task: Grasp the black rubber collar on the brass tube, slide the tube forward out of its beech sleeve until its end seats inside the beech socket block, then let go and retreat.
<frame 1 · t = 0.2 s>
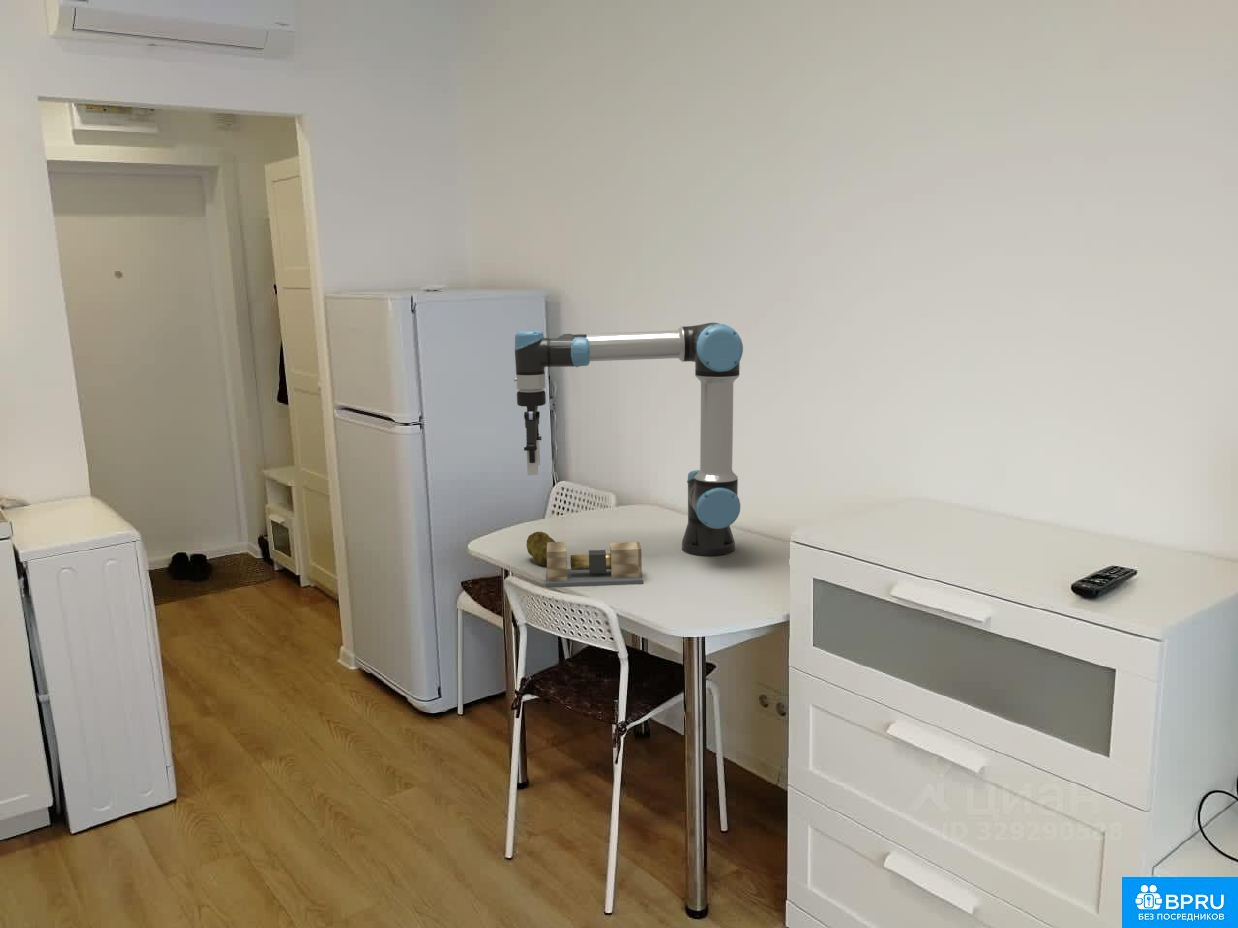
hand: (534, 469, 260), 27 cm above the table, fingers open, 13 cm apart
potato: (544, 563, 271), on the table
board: (594, 578, 256), on the table
socket: (557, 579, 255), resting on board
sleeve: (624, 577, 256), resting on board
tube: (603, 561, 255), point 5 cm above the table, slide at 0.0 cm
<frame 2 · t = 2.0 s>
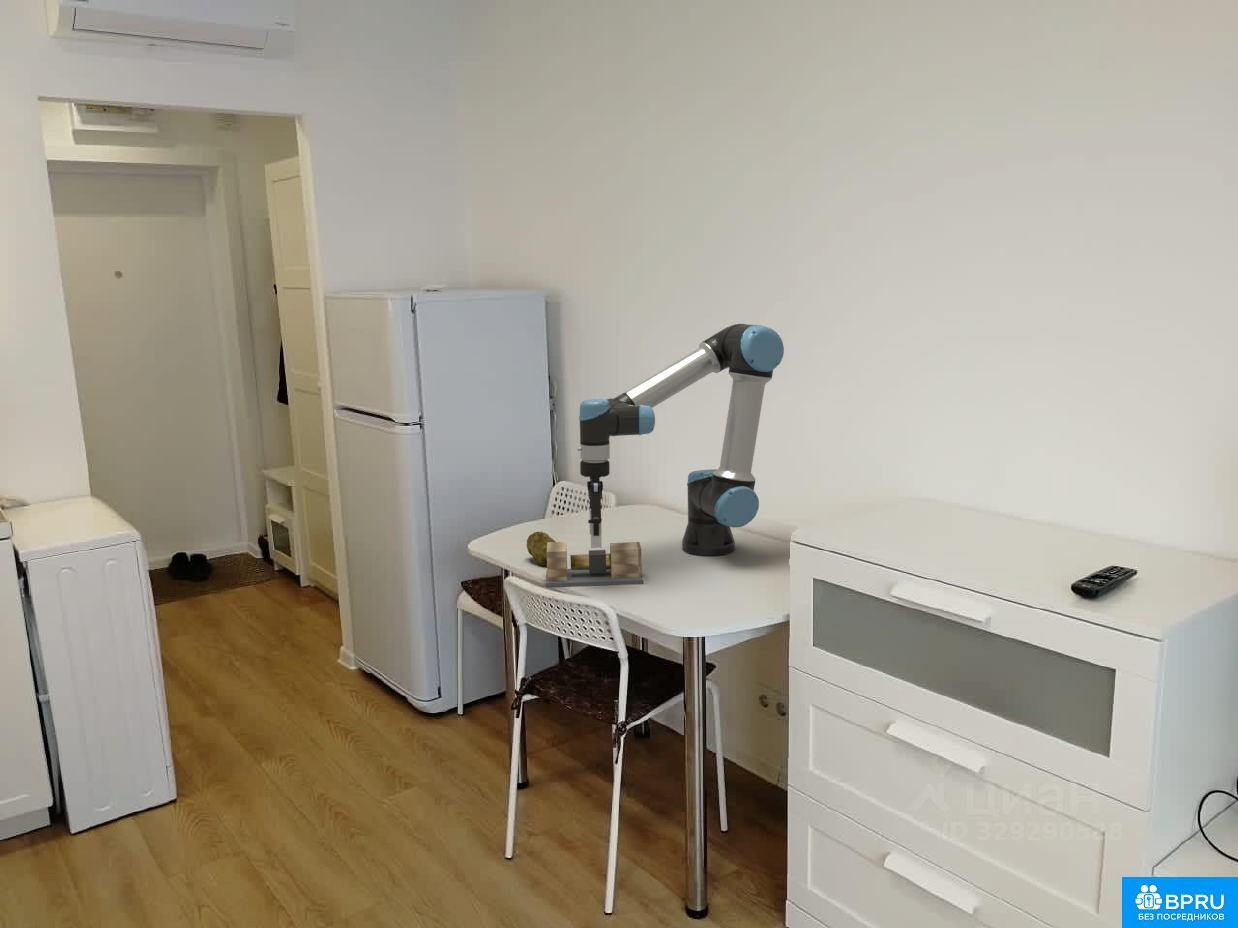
hand: (595, 540, 254), 10 cm above the table, fingers open, 13 cm apart
nothing on the table moved.
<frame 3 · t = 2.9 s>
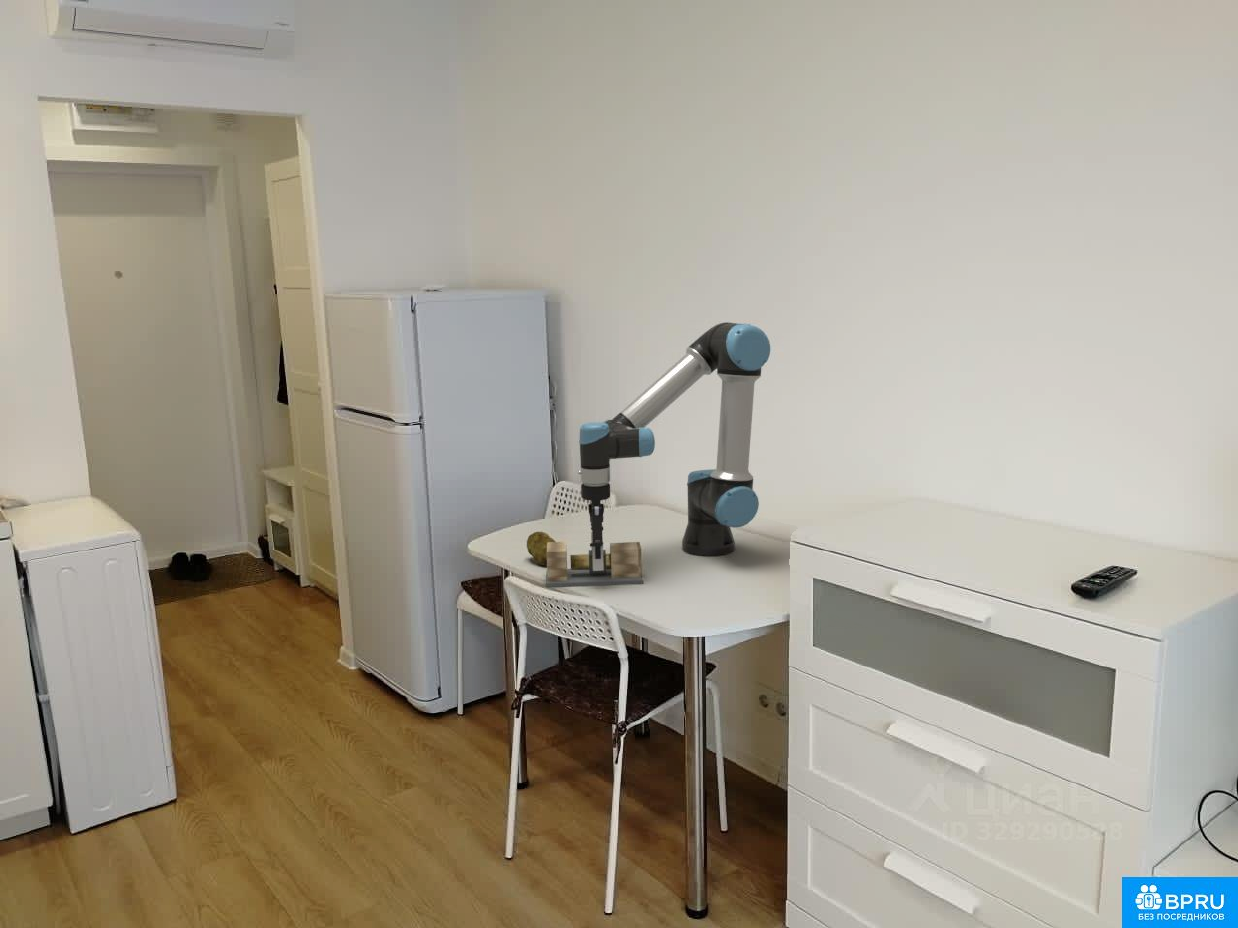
hand: (597, 562, 255), 4 cm above the table, fingers open, 13 cm apart
nothing on the table moved.
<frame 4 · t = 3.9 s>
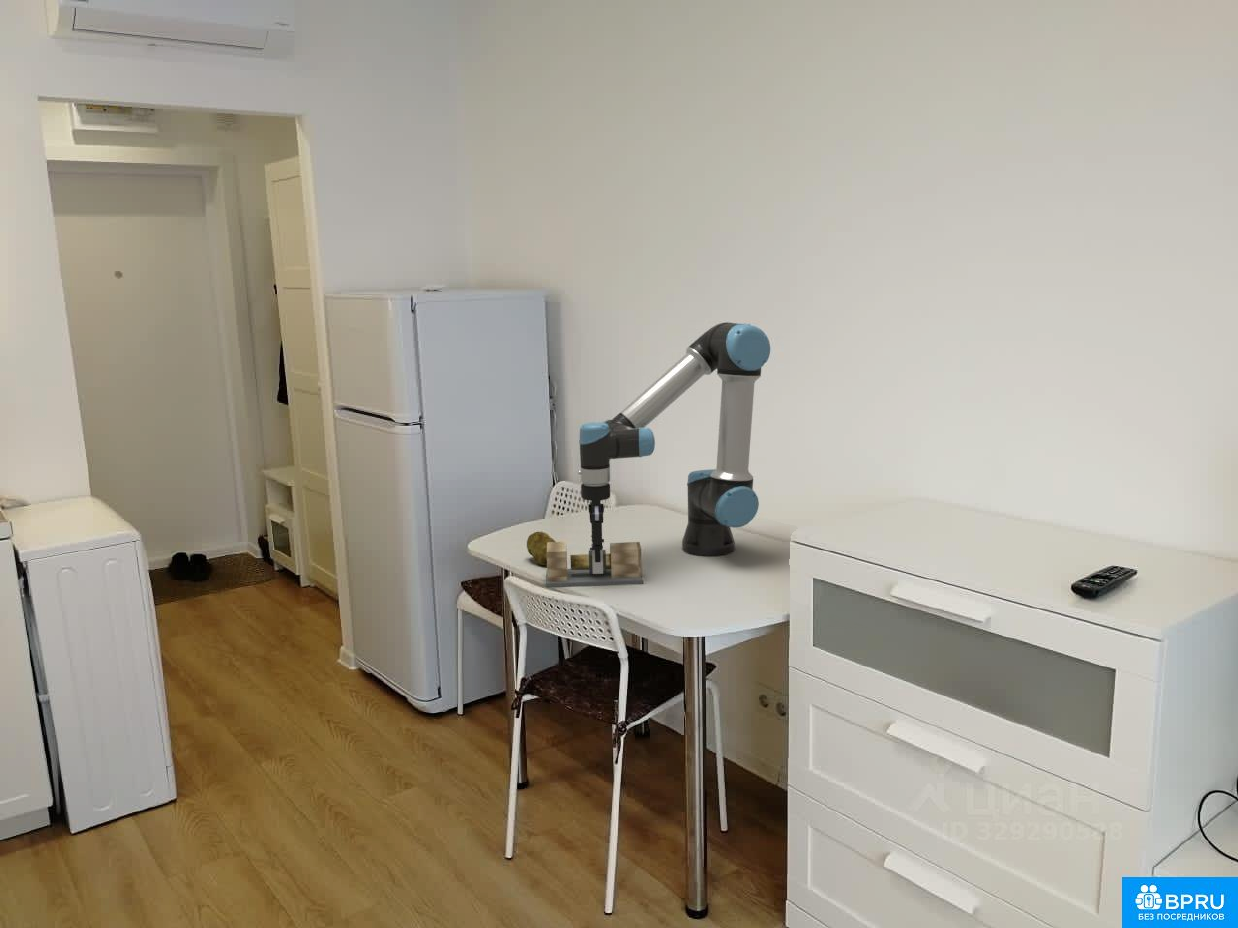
hand: (597, 570, 255), 2 cm above the table, fingers closed on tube, 4 cm apart
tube: (603, 561, 255), point 5 cm above the table, slide at 0.0 cm, touching gripper
everything else where it was.
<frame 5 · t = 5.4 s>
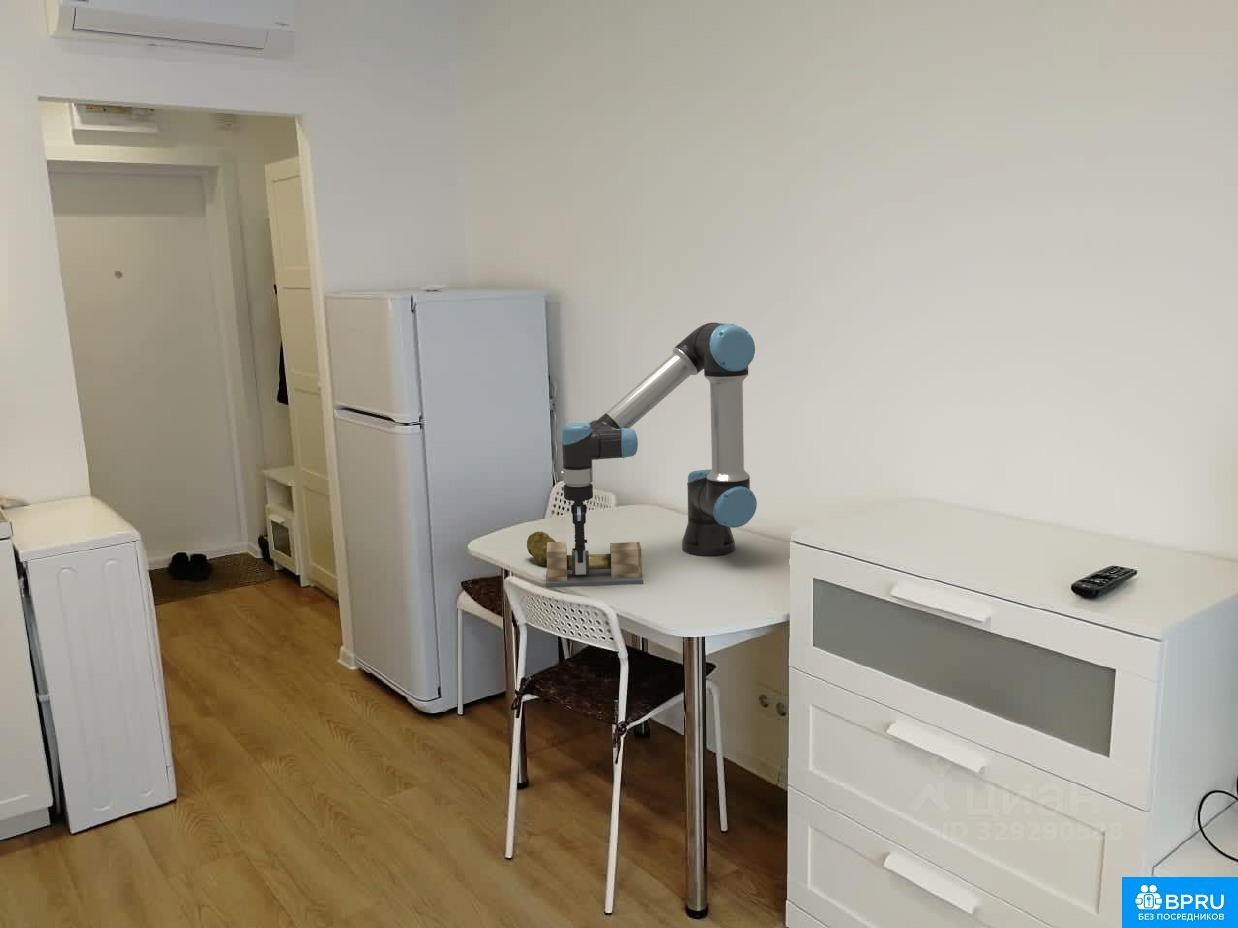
hand: (580, 570, 255), 2 cm above the table, fingers closed on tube, 4 cm apart
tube: (586, 562, 255), point 5 cm above the table, slide at 4.5 cm, touching gripper
everything else where it was.
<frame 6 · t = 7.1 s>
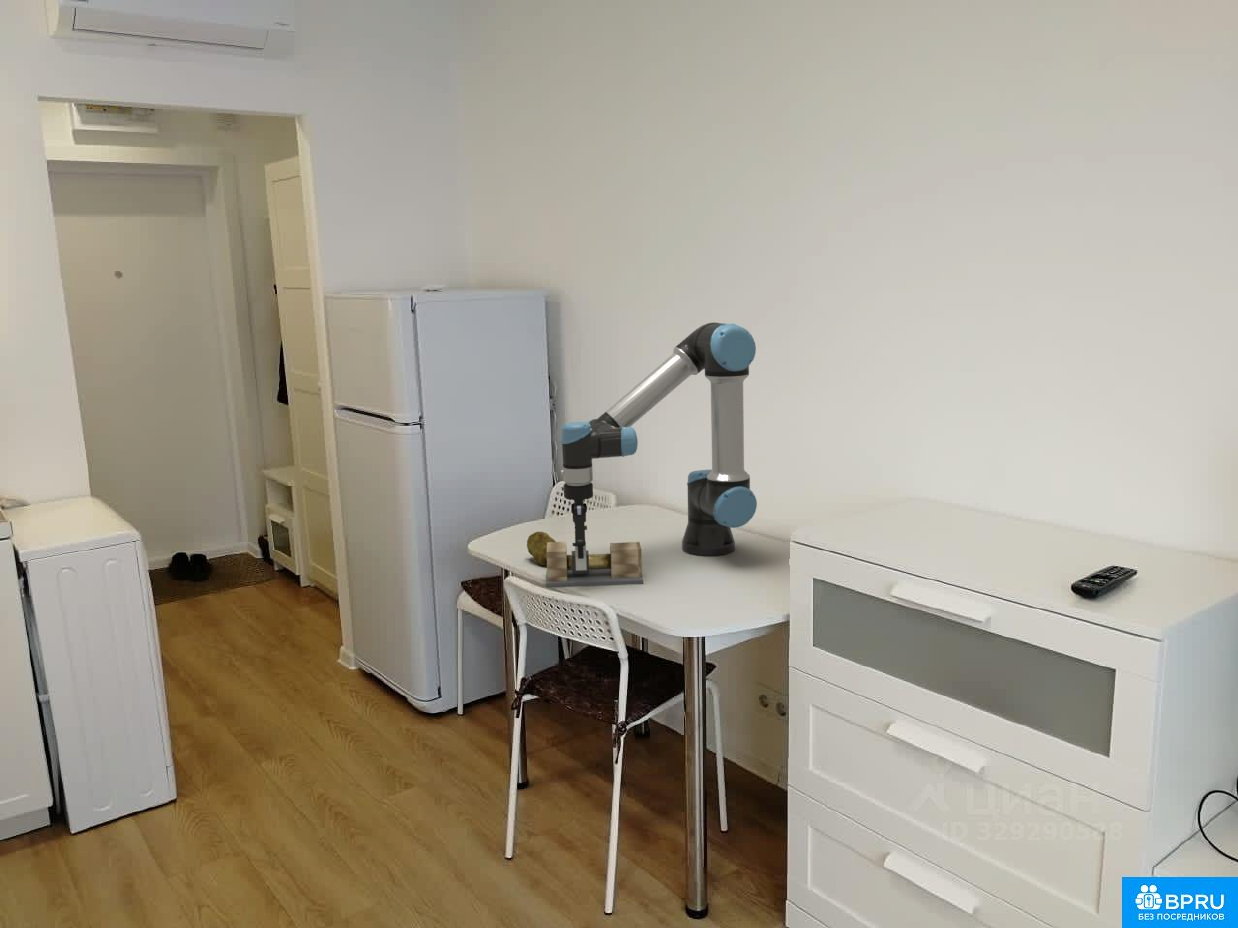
hand: (580, 562, 255), 4 cm above the table, fingers open, 13 cm apart
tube: (586, 562, 255), point 5 cm above the table, slide at 4.5 cm
everything else where it was.
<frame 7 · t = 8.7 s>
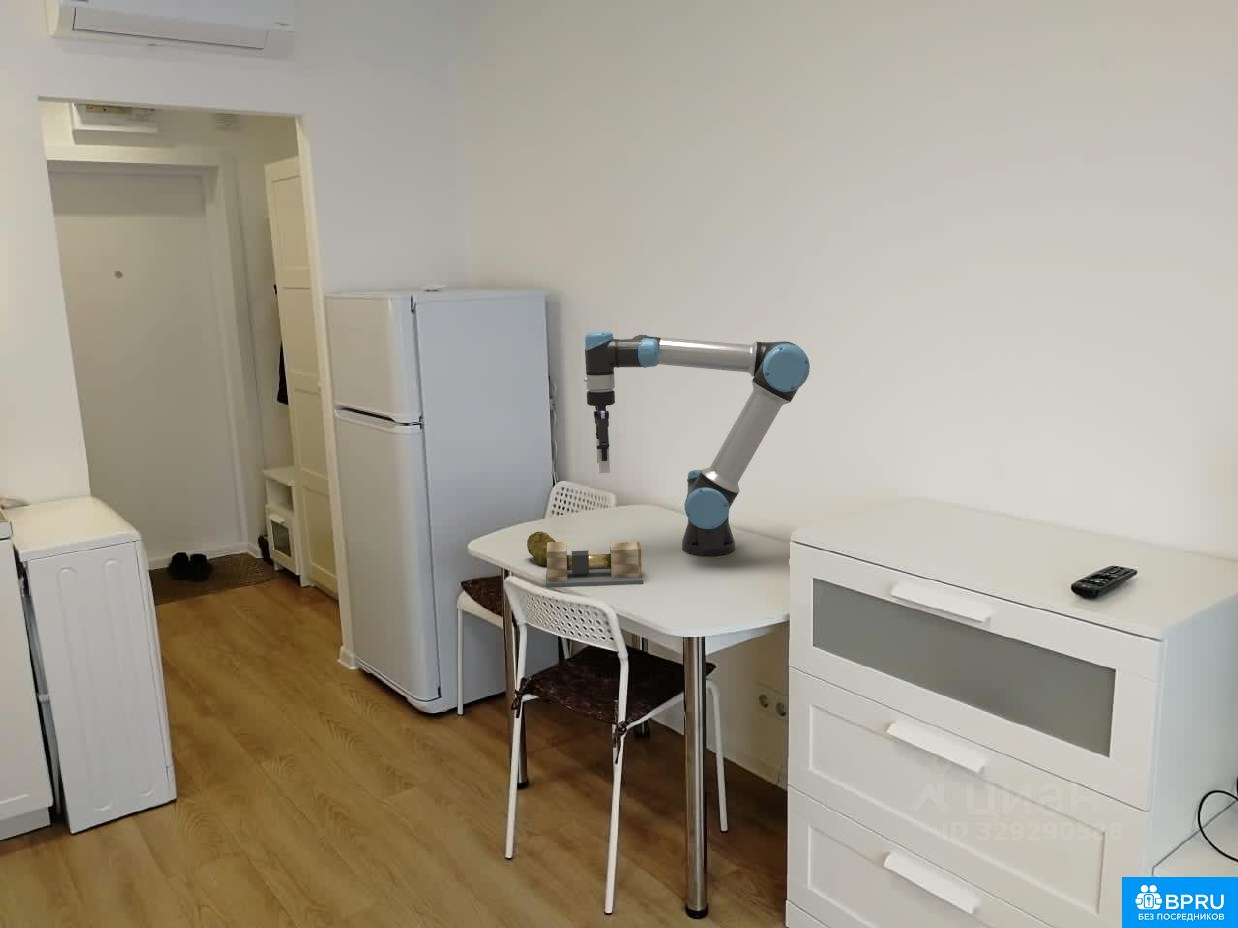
hand: (603, 467, 266), 26 cm above the table, fingers open, 13 cm apart
nothing on the table moved.
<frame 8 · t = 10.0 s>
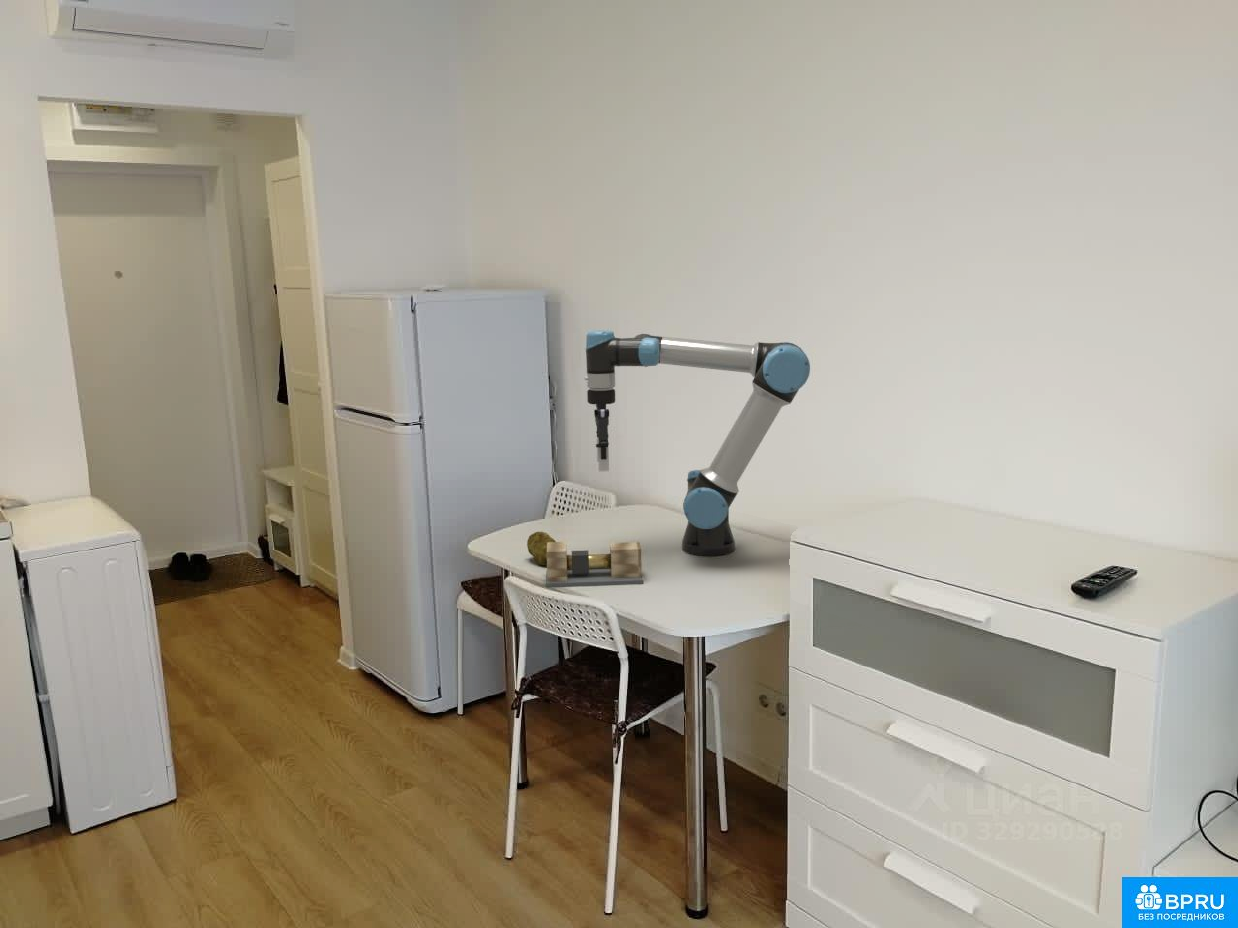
hand: (603, 466, 266), 27 cm above the table, fingers open, 13 cm apart
nothing on the table moved.
at the end: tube slide at 4.5 cm; the gripper is holding nothing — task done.
